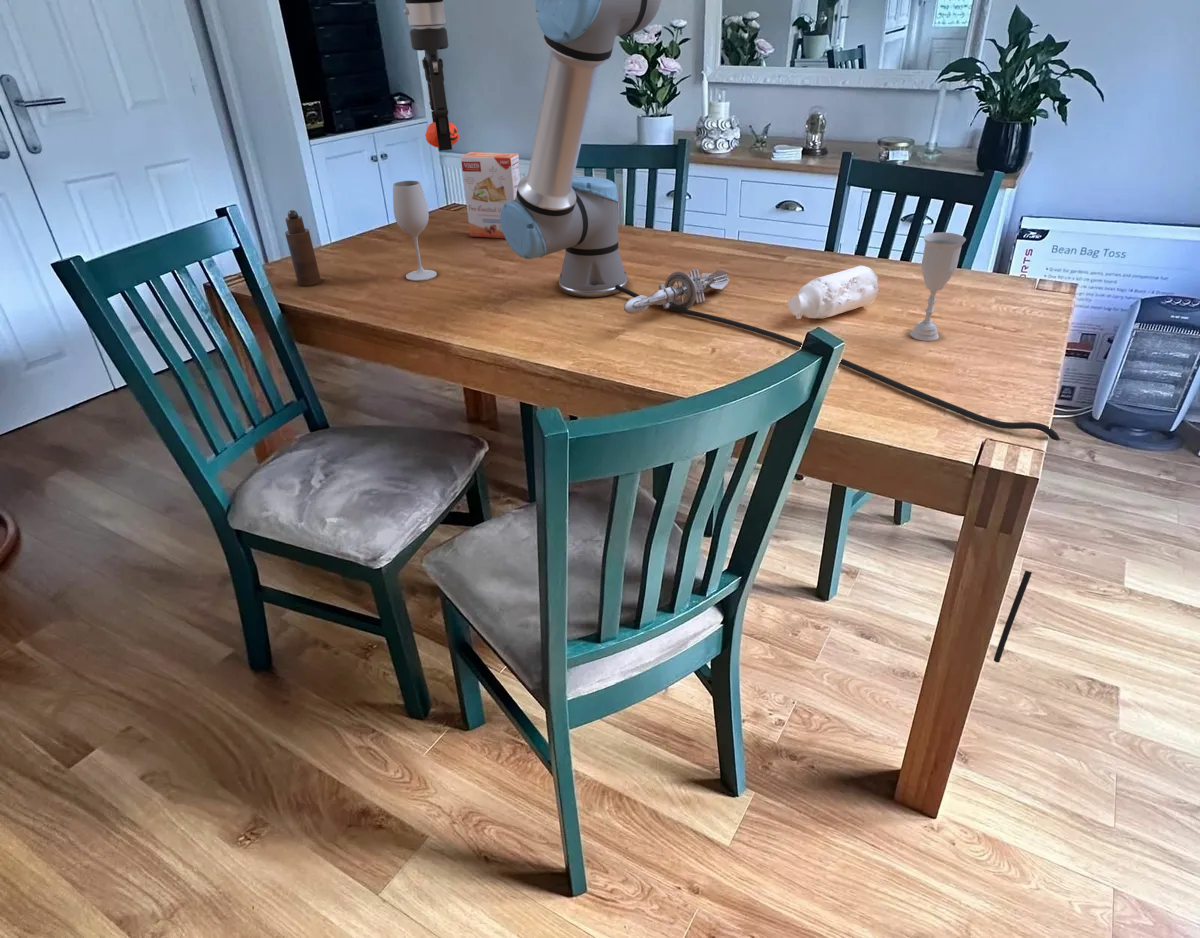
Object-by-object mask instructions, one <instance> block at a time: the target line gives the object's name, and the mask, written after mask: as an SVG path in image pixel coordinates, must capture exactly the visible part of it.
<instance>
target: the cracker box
mask: <svg viewBox="0 0 1200 938" xmlns="http://www.w3.org/2000/svg"><path fill="white" fill-rule="evenodd" d="M460 163H461V169H462V178H463V185H464V195H465V202H466V203H465V204H466V211H467V219H468V228H469V235H470V237H472V238H475V237H476V238H490V239H504V240H506V238H505V236H504V234H503V231H502V227H501V222H500V213H501V209H502V207H503V205H504V204H506V203H507V202H508V201H510V200H515V198H516V193H517V188H518V183H519V181H520V180H521V179H522V178H521V167H520V156H519V153H515V152H513V153H511V152H488V151H487V152H486V151H485V152H484V151H482V152H481V151H469V152H467V153H465V154H463V155H461V156H460Z"/></svg>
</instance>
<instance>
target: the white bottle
mask: <svg viewBox="0 0 1200 938" xmlns="http://www.w3.org/2000/svg"><path fill="white" fill-rule="evenodd" d="M878 278H879V276H878V274H876V272H875V271H874V270H873V269H871V267H868V266H867V265H857V266H855V267H851V268H848V269H844V270H840V271H838V272H834V273H830V274H827V275H822V276H820V277H816V278H814V279H811V280H810V281H809V282H807V283H806V284H804V285H803V286H802V287H801V288H800V289H799V290H798V292H797V294H796V295H793V296H791V297H790V299H788V300H787V303H788V304H787V307H788V309H789V310H788V311H789V312H791V313H792V314H793V316H795V319H796V320H801V319H802V317H803V316H804V317H805V318H808V319H818V320H819V319H820V320H822V319H826V318H831V317H834V316H837V315H840V314H843V313H847V312H850V311H853V310H856V309H858V308H862V307H865V306H866V307H867V306H869V305H871V304H872V303H874V301H875V300H877V298H878V295H879V293H880V290H879V289H880V284H879V282H878Z"/></svg>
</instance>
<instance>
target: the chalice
mask: <svg viewBox="0 0 1200 938" xmlns="http://www.w3.org/2000/svg"><path fill="white" fill-rule="evenodd" d="M923 240H924V248H923V254H922V257H921V263H920V265H921V272H922V278H923V281H924V284H925V288H926V289H927V290H929V291H930V294H929V297H928V298H927V299H926V301H927V306H926V308H925V309H924V312H925V317H924V319H923V320H920V321H918V322H917V323H916V324H915V326H914V327H913V329H912V330H911V331H910V333H909V336H910V337H911V338H913V339H915V340H919V341H922V342H923V341H924V342H932V341H936V340H938V339H939V338H940V336H939V331H938V326H937V324H936V323H935V322H933V320H932V315H933V314H934V313H935V309H934V305H935V303H936V302H937V299H936V294H937V292H938V291H942V290H943V289H944V288H945V287H946V285H947V283H948V282H949V281H950V280H951V278H952V276H953V275H954V273H955V271H956V270H957V267H958V264H959V260H960V255H961V250H962V246H963V245H964V244H965V242H966V241H967V238H966V237H965V236H963V235H961V234H958V233H955V232H943V231H941V232H940V231H939V232H930V233H927V234H924V236H923Z"/></svg>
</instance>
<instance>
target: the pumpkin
mask: <svg viewBox="0 0 1200 938" xmlns="http://www.w3.org/2000/svg"><path fill="white" fill-rule="evenodd" d="M449 129H450V137H451V144H452V146H454V145H455V144H456V143H457V142H458V141H459V139H460V135H459V131H458V128H457V126H456V125H455V124H454V123H453V122H449ZM424 137H425V140H426V142H427V143H428V144H429V145H431V146H432V147H434V148H438V149H439V145H438V137H437V130H436V123H435V122H434V123H433V122H431V123H429V125H428V126H427V128H426V131H425V135H424Z"/></svg>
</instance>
